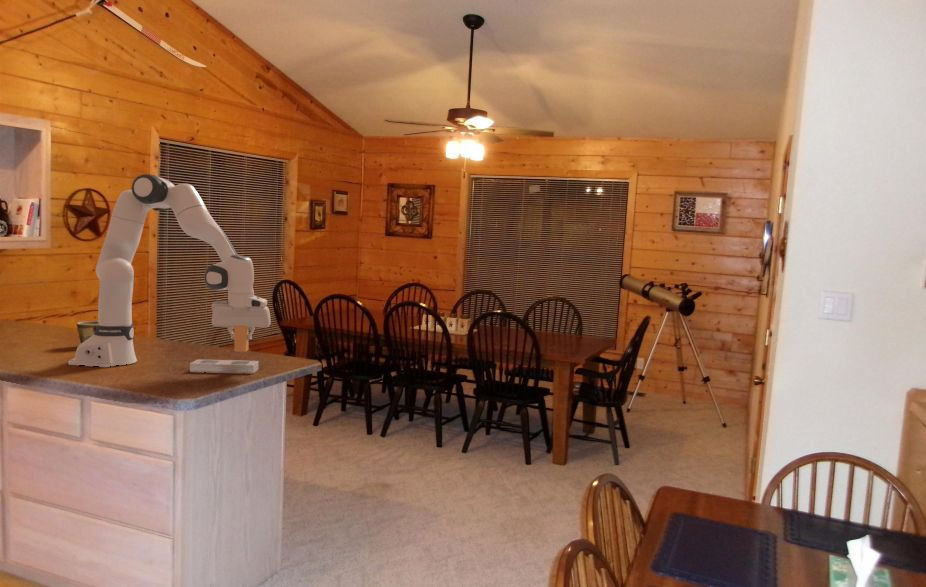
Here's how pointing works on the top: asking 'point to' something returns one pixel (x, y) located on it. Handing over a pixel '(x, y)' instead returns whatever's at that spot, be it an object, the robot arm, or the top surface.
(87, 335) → the ceramic cup
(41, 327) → the top surface
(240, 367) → the white recessed tray
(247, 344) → the square peg
